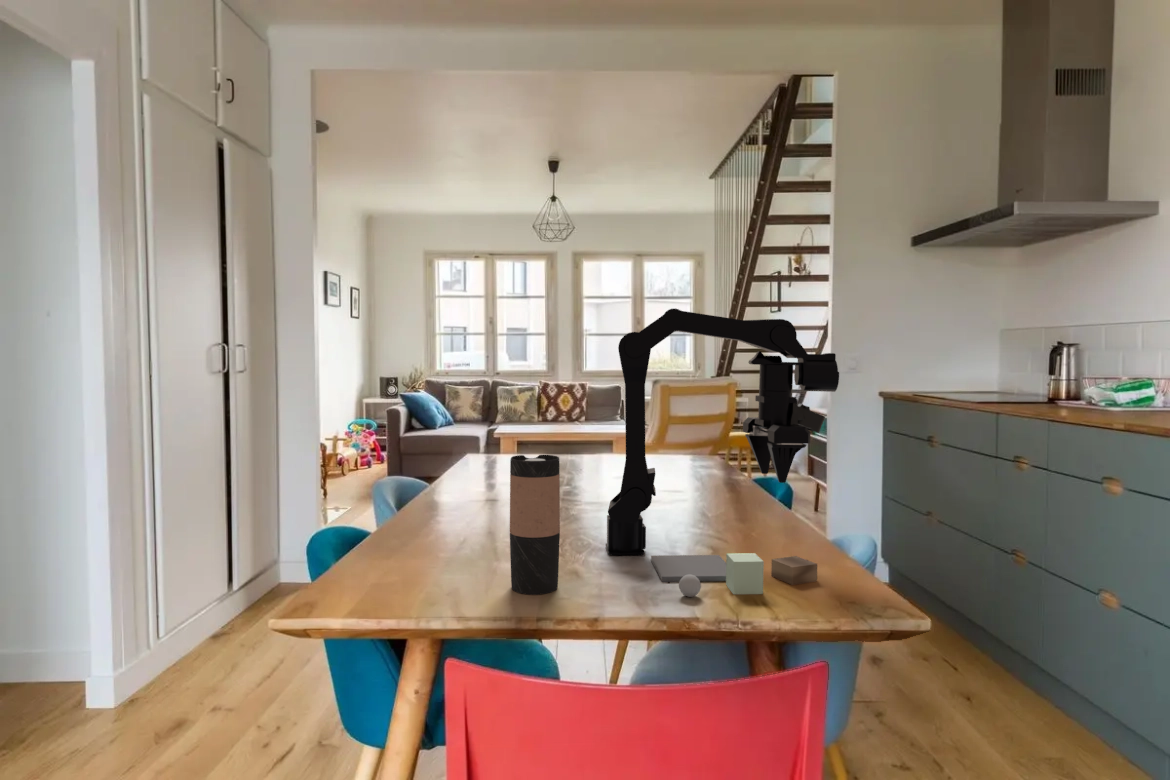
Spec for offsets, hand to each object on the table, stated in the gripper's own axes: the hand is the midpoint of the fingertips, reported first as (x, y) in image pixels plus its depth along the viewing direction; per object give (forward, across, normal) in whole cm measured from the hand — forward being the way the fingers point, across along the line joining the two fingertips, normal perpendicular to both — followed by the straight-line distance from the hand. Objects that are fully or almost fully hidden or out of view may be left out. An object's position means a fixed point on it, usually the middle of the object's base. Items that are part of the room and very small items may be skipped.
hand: (773, 477), depth 128 cm
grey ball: (+12, -21, +20) cm, 31 cm away
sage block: (+14, -18, +10) cm, 25 cm away
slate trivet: (+14, -8, +16) cm, 23 cm away
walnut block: (+14, -14, +1) cm, 20 cm away
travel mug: (+15, -16, +42) cm, 47 cm away
